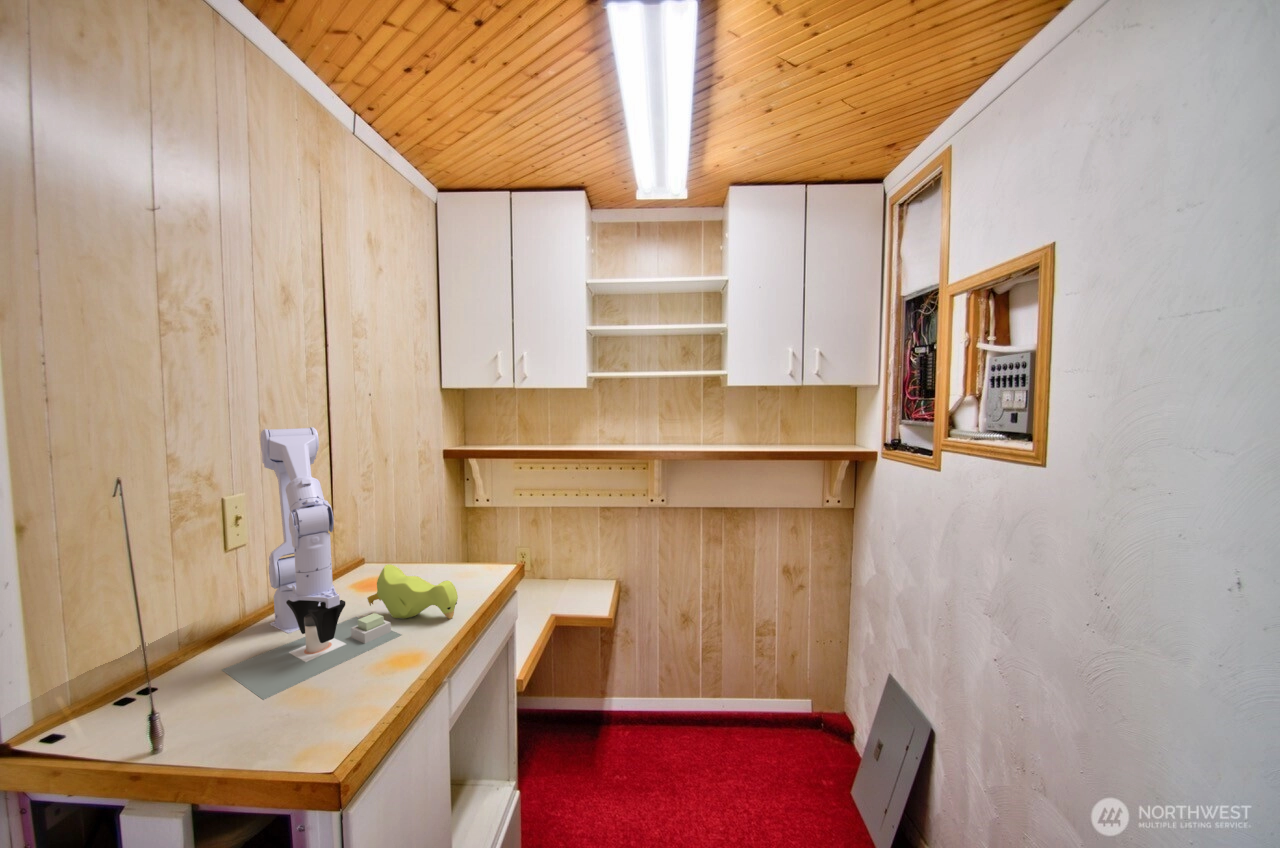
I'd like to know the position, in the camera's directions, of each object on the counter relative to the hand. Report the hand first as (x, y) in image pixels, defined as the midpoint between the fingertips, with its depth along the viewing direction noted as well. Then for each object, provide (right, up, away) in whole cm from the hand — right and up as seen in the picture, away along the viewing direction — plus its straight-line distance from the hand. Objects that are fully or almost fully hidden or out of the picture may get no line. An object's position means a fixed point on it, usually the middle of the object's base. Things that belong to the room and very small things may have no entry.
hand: (317, 635), depth 85 cm
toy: (+12, -3, +14) cm, 19 cm away
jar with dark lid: (0, -2, 0) cm, 2 cm away
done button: (+7, -1, +5) cm, 9 cm away
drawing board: (+1, -3, -1) cm, 3 cm away
